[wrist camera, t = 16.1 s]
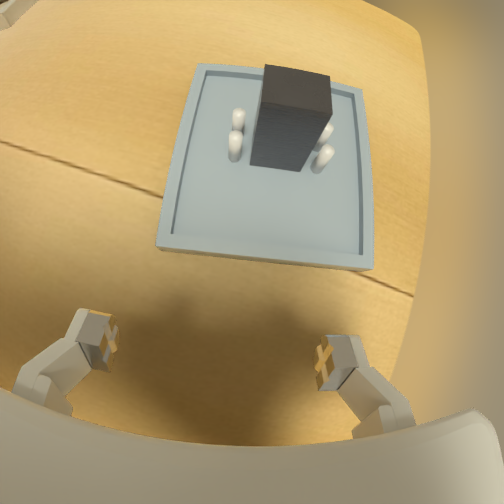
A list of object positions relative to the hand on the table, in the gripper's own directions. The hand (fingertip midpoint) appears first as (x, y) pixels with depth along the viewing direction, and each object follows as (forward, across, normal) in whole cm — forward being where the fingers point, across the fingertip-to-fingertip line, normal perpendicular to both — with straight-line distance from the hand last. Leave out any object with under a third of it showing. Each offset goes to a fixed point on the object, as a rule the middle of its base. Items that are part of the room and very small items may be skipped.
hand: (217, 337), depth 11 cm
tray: (+22, -4, 0) cm, 23 cm away
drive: (+22, -4, -2) cm, 22 cm away
